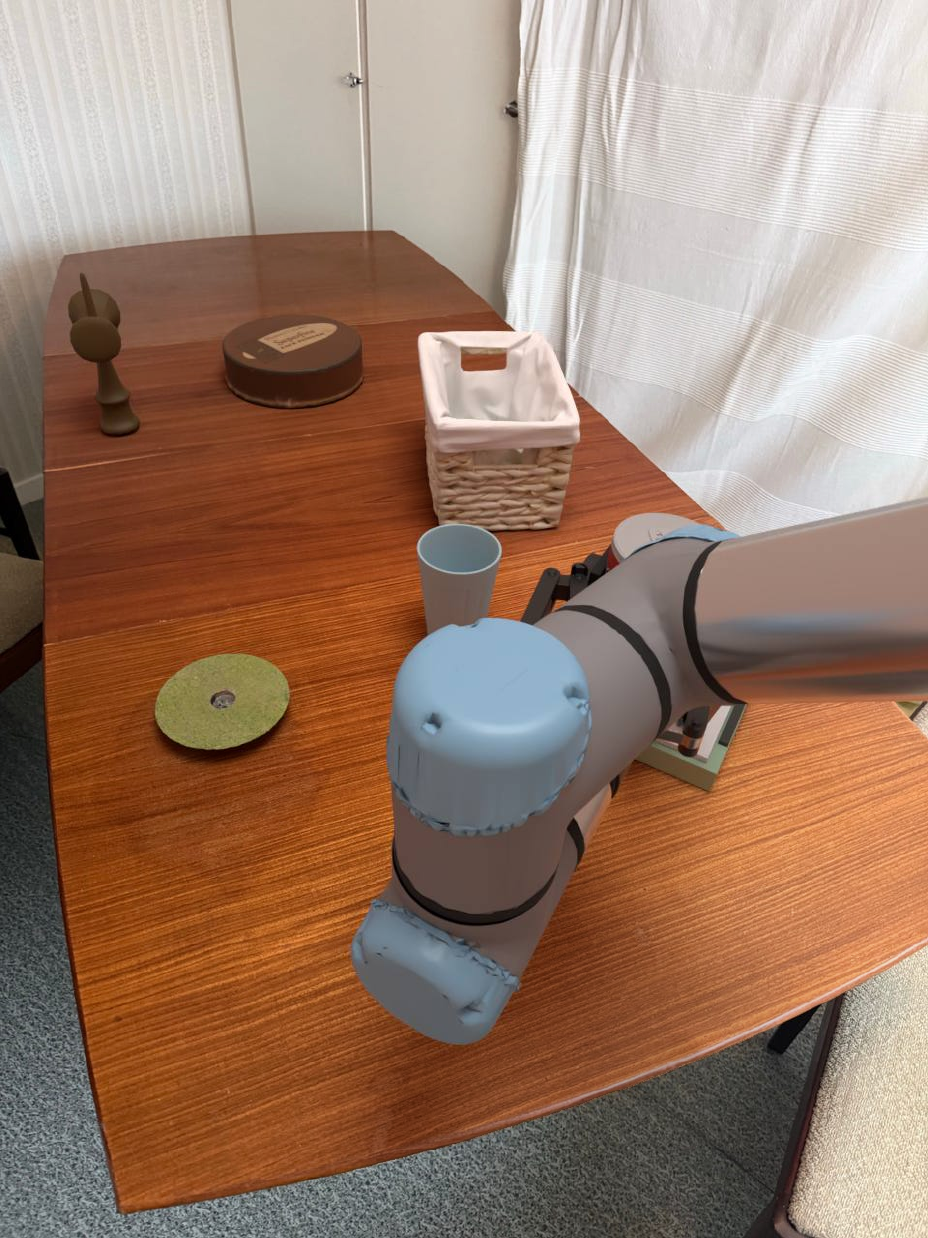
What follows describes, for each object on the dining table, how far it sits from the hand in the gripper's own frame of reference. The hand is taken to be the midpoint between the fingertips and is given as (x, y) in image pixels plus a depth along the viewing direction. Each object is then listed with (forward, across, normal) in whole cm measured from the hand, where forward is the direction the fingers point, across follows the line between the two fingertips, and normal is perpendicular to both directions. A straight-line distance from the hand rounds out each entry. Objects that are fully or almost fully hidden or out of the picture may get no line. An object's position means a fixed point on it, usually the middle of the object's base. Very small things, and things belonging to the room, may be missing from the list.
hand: (677, 561), depth 62 cm
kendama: (+14, -77, -18) cm, 80 cm away
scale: (+2, +2, -18) cm, 18 cm away
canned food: (-5, 0, -7) cm, 8 cm away
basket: (+28, -30, -18) cm, 45 cm away
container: (+38, -67, -18) cm, 79 cm away
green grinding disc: (-18, -31, -18) cm, 40 cm away
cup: (+2, -20, -18) cm, 27 cm away
